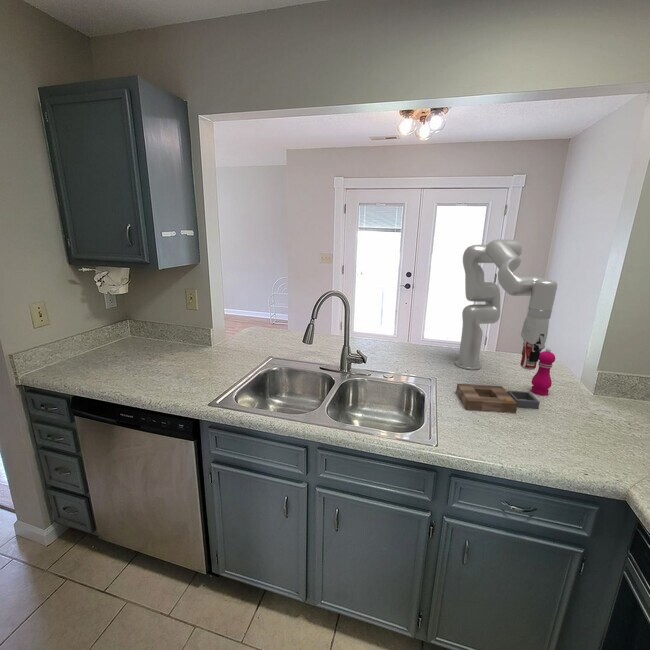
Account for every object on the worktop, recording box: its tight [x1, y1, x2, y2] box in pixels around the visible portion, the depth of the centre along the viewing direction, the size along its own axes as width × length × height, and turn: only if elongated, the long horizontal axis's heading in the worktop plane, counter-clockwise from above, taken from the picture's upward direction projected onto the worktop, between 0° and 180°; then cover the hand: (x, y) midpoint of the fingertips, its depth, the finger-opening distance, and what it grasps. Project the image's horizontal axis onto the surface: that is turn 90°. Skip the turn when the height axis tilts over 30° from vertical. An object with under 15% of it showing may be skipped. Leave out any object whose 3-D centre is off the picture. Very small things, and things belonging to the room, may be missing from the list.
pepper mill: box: [530, 348, 556, 396], centre depth 142 cm, size 7×7×20 cm
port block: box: [455, 382, 518, 414], centre depth 135 cm, size 15×18×4 cm
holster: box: [506, 390, 541, 410], centre depth 135 cm, size 9×9×3 cm
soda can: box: [520, 341, 539, 371], centre depth 130 cm, size 5×5×12 cm
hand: (529, 358), depth 131 cm, fingers closed on soda can, 5 cm apart
